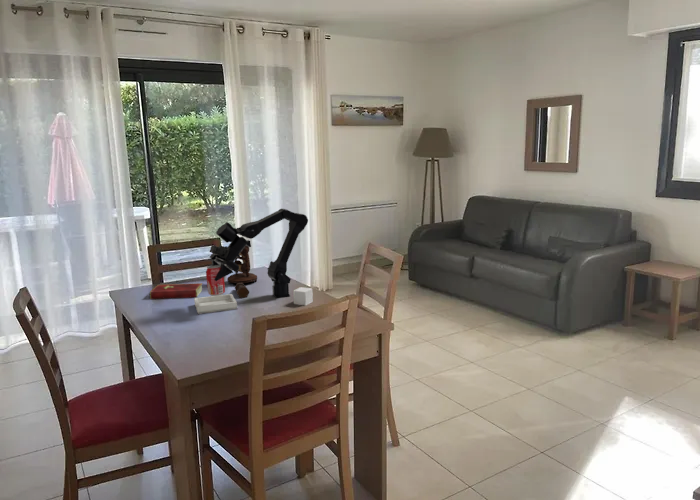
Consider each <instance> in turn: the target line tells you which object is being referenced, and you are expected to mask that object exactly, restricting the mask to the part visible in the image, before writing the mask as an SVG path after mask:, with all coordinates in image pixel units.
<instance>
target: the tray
mask: <svg viewBox="0 0 700 500" xmlns="http://www.w3.org/2000/svg"><path fill="white" fill-rule="evenodd" d="M193 298H194V307H195V309H196V312H197V314H198V315H202V314H210V313H211V314H212V313H217V312H219V313H220V312H226V311H233V310H238V301H237V299H235V297H234V295H233V294H232V293H227V294H222V295H219V296H211V295H210V296H201V297H193Z"/></svg>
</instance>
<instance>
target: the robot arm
mask: <svg viewBox="0 0 700 500" xmlns="http://www.w3.org/2000/svg"><path fill="white" fill-rule="evenodd" d="M282 220H286V221H289V222H288V232H287V234H286V237H285V239H284V241H283V243H282V246H281V248H280V251H279V253H278V256H277V258H276V260H274V261H272V260H271V261H270V263H269V266H268V268H267V272H266V273H267V275H268V277H269V278H270V279H271V281H272V282H273V285H272V295H273V297H275V299H277V298H287V297H291V293H290V292H289V291H290V290H289V287H290V286H289V284H291V283H290V282H291V279H292V278H290V277H289V276H288V275H287V271H288V270H287V269H288V268H287V267H288V266H287V265H288V261H289V260H290V259H289V258H290V256H291V253H292V251H293V250H294V246H295V244H296V242H297V239H298V237H299V235H300V233H302V231H304V230H305V228H306V227H307V225H308V222H309V219H308V217H307V215H305V214H303V213H299V212H293V211H290V210H288V209H286V208H280V209H278V210H277V211H274V212H272V213H270V214H269V215H267V216H264V217H262V218H261V219H259V220H256V221H250V222H246V223H243V224H242V225H240V226H239V227H236V228H235V227H234V226H232V225H231V224H230V222H227V221H226V222H225V223H224V224H222V225H221V226H220V227H219V228H218V229H217V230H216V235H217V236H218V237H219V238H221V239H222V240H223V241H224V242H225V243H229V245H227V246H223V245H219V246H217V245H213V244H211V246H210V249H209V253H211V254H210V256H209V258H210V262H211V266H214V265H220V266H221V268H220V270H219V272H218V274H217V275H216V277H215V279H214V280H215V281H217V280H219V279H221V278H223V277H224V278H225V277H226V276H228V275H229V276H230V274H231V275H232V274H234V273H235V272H236V273H237V271H238V270H239V266H238V265H237V264H236V263H235V259H236V258H237V257H238V258H239V257H241V256H240V255H239V254H240V252H241V251H242V250H243V248H244V247H245V246H248V247H249V248H251V247H252V245H251V244H252V243H251V239H254V238H256V237H257V236H258V235H260V234H261V232H262V231H263V230H265V229H266V228H269V227H270V226H272V225H275V224H277V223H278V222H281V221H282ZM247 239H248V240H247ZM249 239H250V240H249ZM238 272H239V271H238Z"/></svg>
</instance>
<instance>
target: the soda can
mask: <svg viewBox="0 0 700 500" xmlns="http://www.w3.org/2000/svg"><path fill="white" fill-rule="evenodd" d="M220 268H221V266H220V265H214V266H212V265H209V266H207V267H206V270H205V274H206V275H205V276H206V277H205V278H206V286H207V293H208V295H210V296H219V295H224V294H225V292H226V285H225V277H223V278H221V279H219V280H217V281H215V280H214V279H215V277H216V275H217V274H218V272H219V270H220Z"/></svg>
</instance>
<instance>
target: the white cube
mask: <svg viewBox="0 0 700 500" xmlns="http://www.w3.org/2000/svg"><path fill="white" fill-rule="evenodd" d="M292 295H293V304H294V305H300V306H308V305H309V304H311V303H314V302H313V301H314V300H313V299H314V295H313V288H310V287H300V286H299V287H298V288H296V289H294V290H293V294H292Z"/></svg>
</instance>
